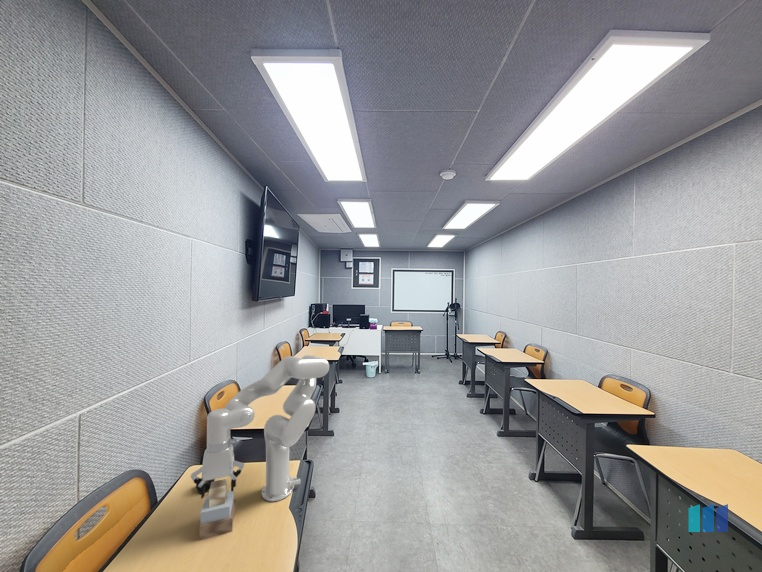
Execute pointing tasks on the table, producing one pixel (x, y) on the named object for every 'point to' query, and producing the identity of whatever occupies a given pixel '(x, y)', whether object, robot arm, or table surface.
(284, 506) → the table surface
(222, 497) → the beech block
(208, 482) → the tape measure
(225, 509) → the top block
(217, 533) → the bottom block
